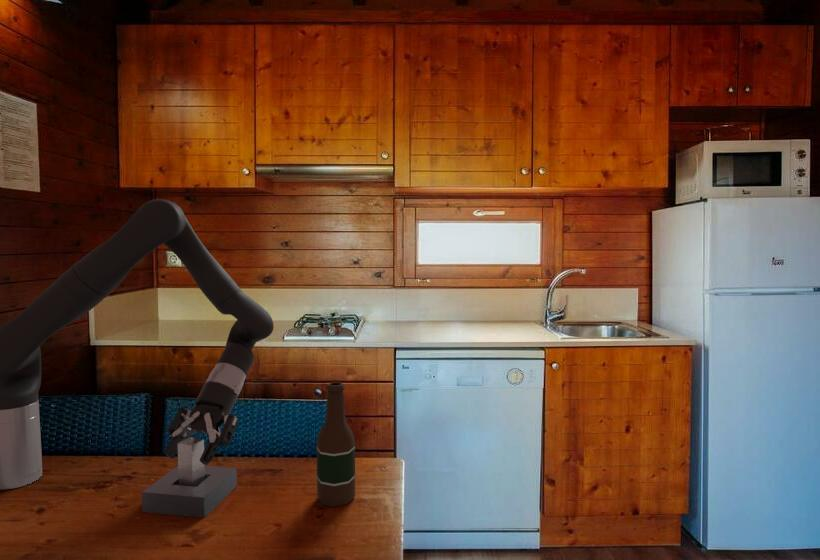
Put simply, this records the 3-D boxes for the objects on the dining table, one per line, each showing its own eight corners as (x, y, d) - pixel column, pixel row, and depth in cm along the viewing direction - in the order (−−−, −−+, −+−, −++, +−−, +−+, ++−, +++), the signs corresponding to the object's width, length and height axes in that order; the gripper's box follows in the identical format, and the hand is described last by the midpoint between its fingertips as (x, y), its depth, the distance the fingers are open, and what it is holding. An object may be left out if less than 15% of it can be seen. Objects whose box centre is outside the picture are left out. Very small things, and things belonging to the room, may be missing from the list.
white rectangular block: (179, 500, 109) (177, 443, 108) (191, 492, 112) (190, 437, 111) (193, 503, 108) (191, 445, 107) (205, 495, 111) (203, 439, 110)
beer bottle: (309, 498, 110) (307, 383, 108) (338, 485, 115) (338, 376, 113) (333, 512, 105) (332, 391, 102) (363, 497, 110) (362, 383, 108)
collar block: (142, 511, 104) (141, 492, 104) (181, 481, 117) (180, 463, 117) (204, 517, 102) (203, 497, 102) (236, 486, 115) (236, 468, 115)
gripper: (186, 376, 117) (147, 447, 107) (241, 383, 112) (205, 457, 103) (204, 393, 122) (168, 462, 113) (257, 400, 118) (224, 472, 108)
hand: (186, 460), depth 108 cm, fingers open, 8 cm apart
